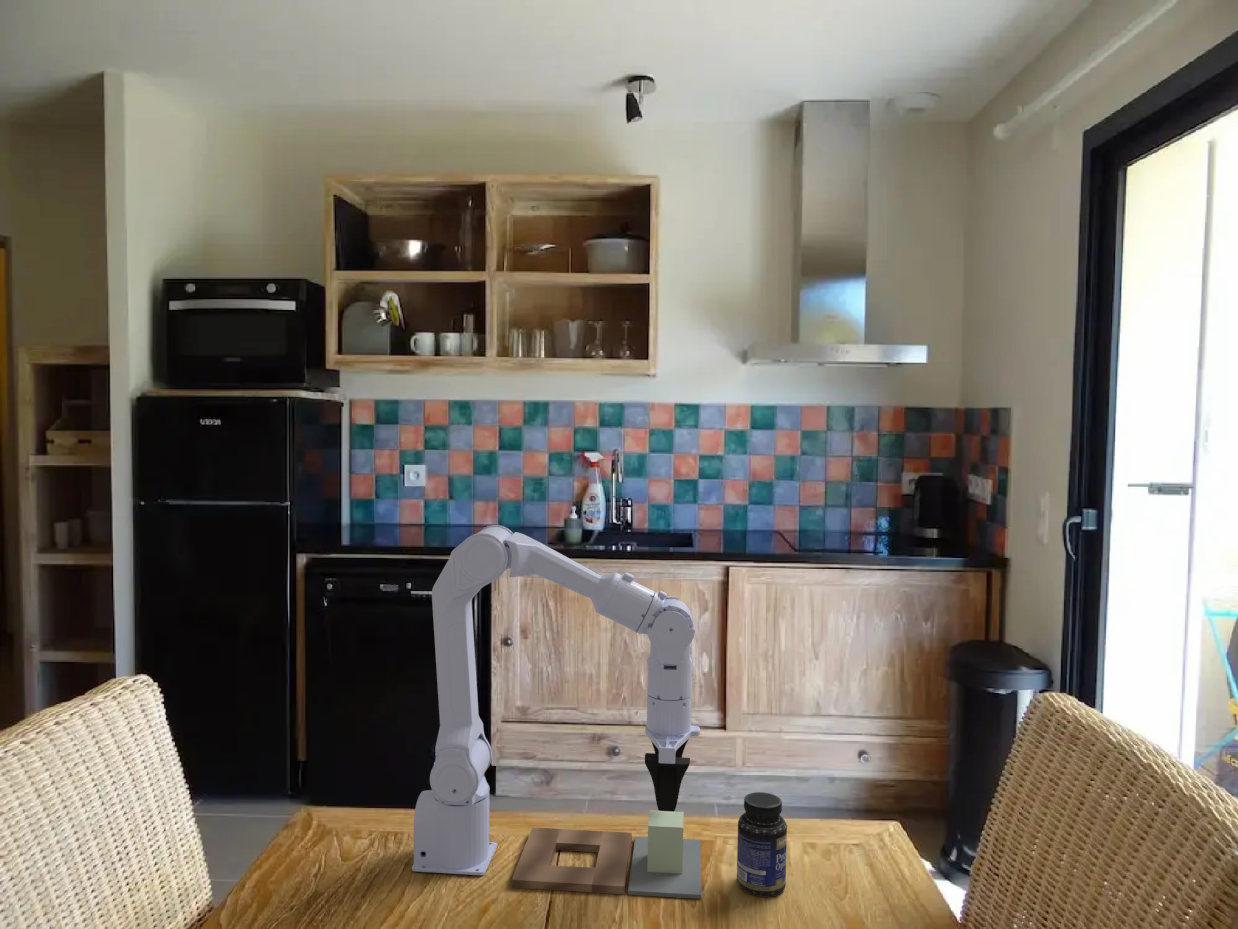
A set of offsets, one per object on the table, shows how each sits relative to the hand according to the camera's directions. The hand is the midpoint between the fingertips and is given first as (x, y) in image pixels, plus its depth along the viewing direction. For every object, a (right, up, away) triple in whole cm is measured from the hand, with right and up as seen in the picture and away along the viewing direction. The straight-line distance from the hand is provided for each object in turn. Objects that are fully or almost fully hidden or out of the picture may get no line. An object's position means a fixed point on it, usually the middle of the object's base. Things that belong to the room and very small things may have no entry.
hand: (667, 797), depth 112 cm
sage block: (0, -9, 0) cm, 9 cm away
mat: (0, -9, 0) cm, 9 cm away
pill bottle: (+12, -10, -4) cm, 16 cm away
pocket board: (-12, -9, +1) cm, 15 cm away
